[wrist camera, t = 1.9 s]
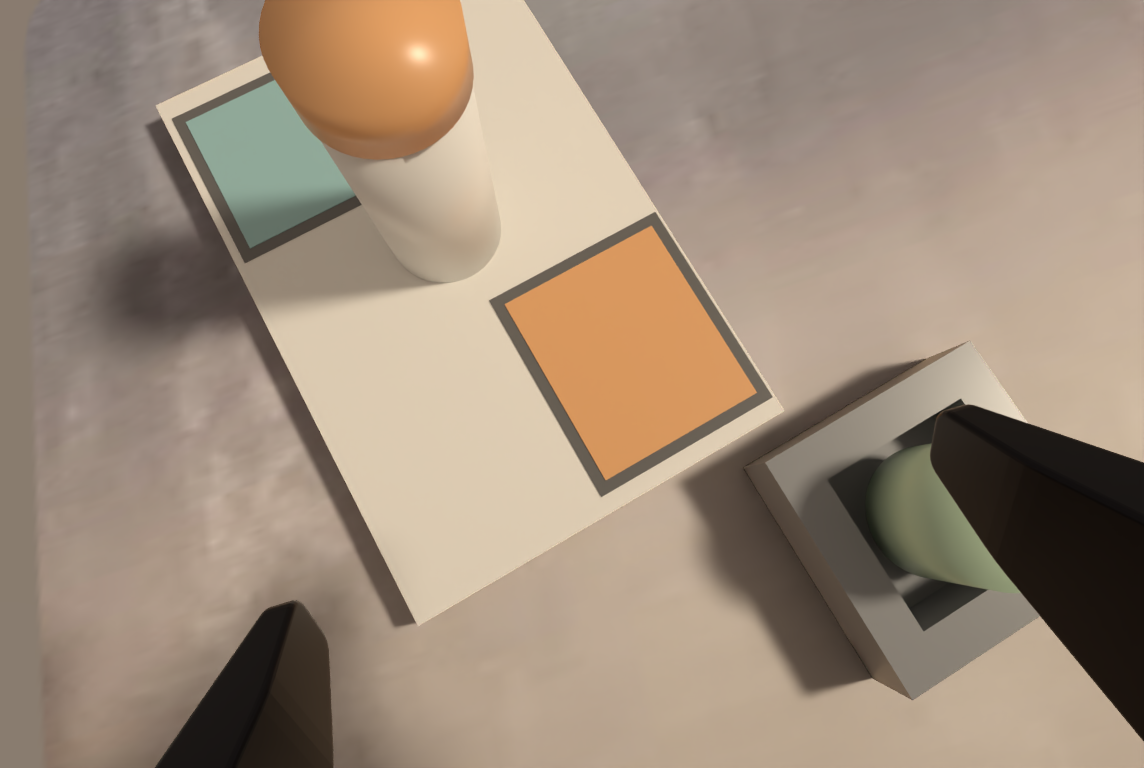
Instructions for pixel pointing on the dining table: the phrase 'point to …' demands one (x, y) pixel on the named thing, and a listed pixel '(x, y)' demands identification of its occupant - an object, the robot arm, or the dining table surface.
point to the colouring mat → (478, 320)
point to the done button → (927, 525)
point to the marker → (394, 120)
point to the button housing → (845, 544)
